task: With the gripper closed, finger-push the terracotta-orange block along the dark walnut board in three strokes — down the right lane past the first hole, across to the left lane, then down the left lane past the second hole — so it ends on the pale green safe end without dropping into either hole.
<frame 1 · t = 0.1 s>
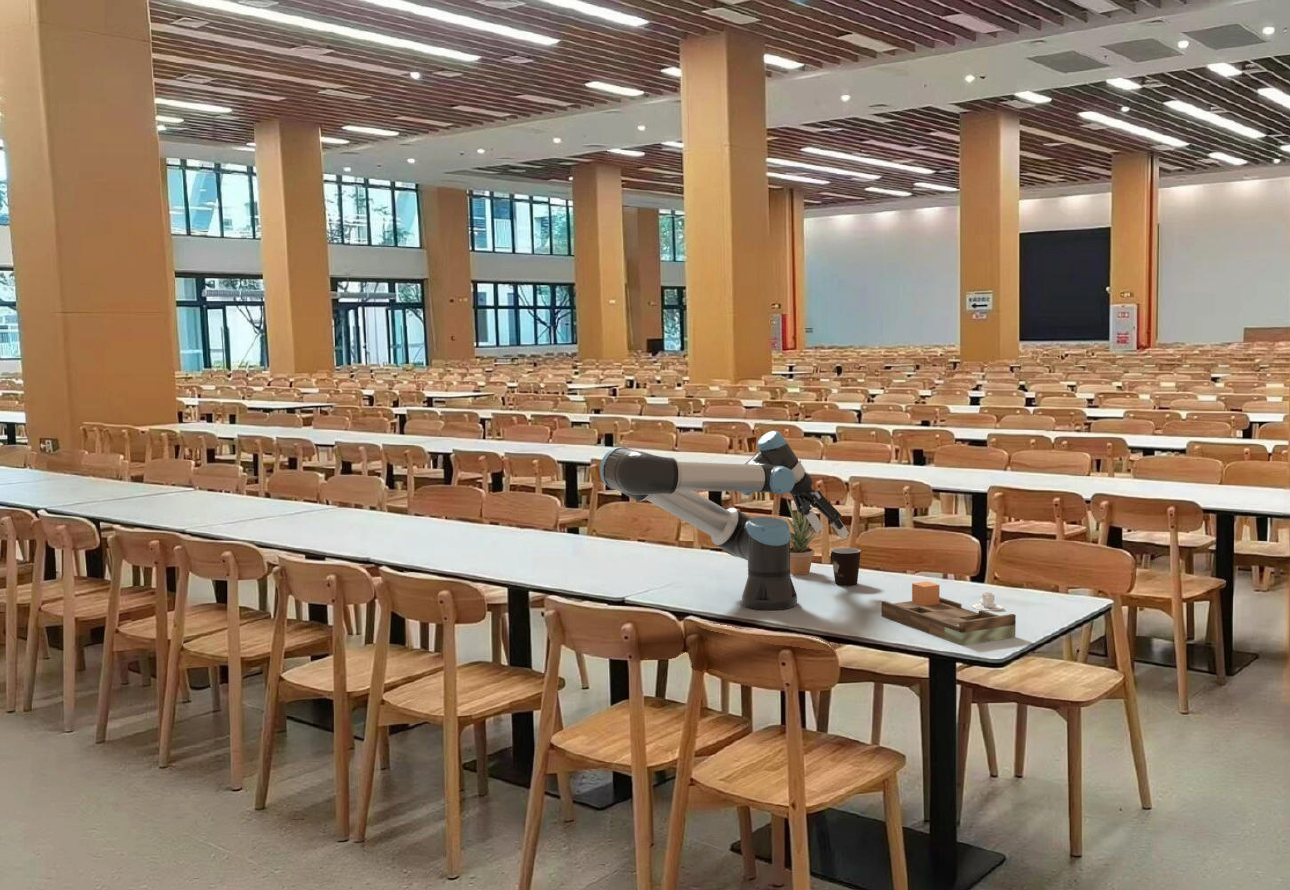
hand: (832, 532, 357), 15 cm above the table, tool tilted 35°, fingers open, 13 cm apart
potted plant: (799, 573, 376), on the table
teacup and saucer: (997, 608, 327), on the table
block: (925, 602, 319), point 3 cm above the table, touching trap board
coffee mug: (845, 583, 360), on the table
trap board: (944, 625, 307), on the table
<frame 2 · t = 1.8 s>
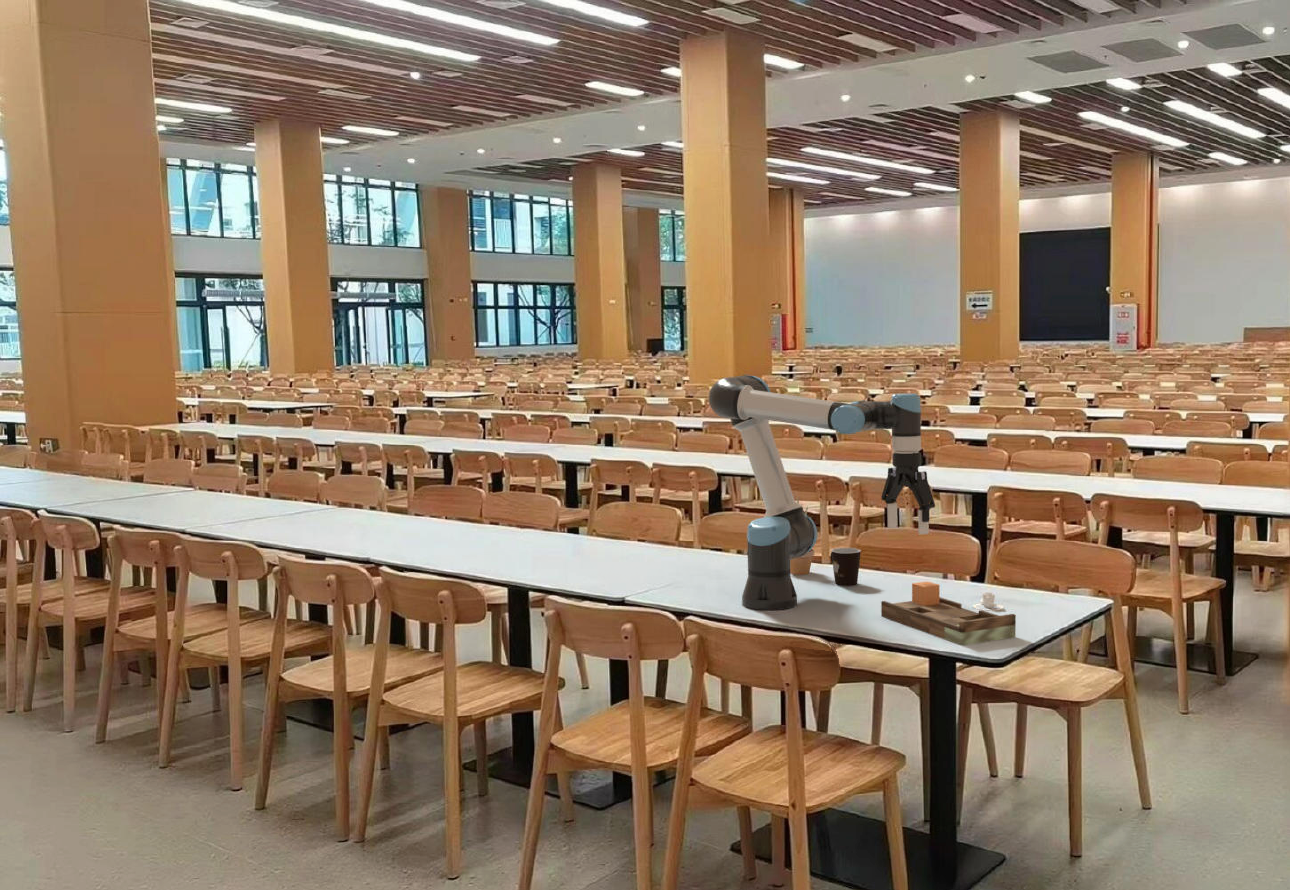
hand: (907, 530, 325), 21 cm above the table, tool pointing down, fingers open, 13 cm apart
nothing on the table moved.
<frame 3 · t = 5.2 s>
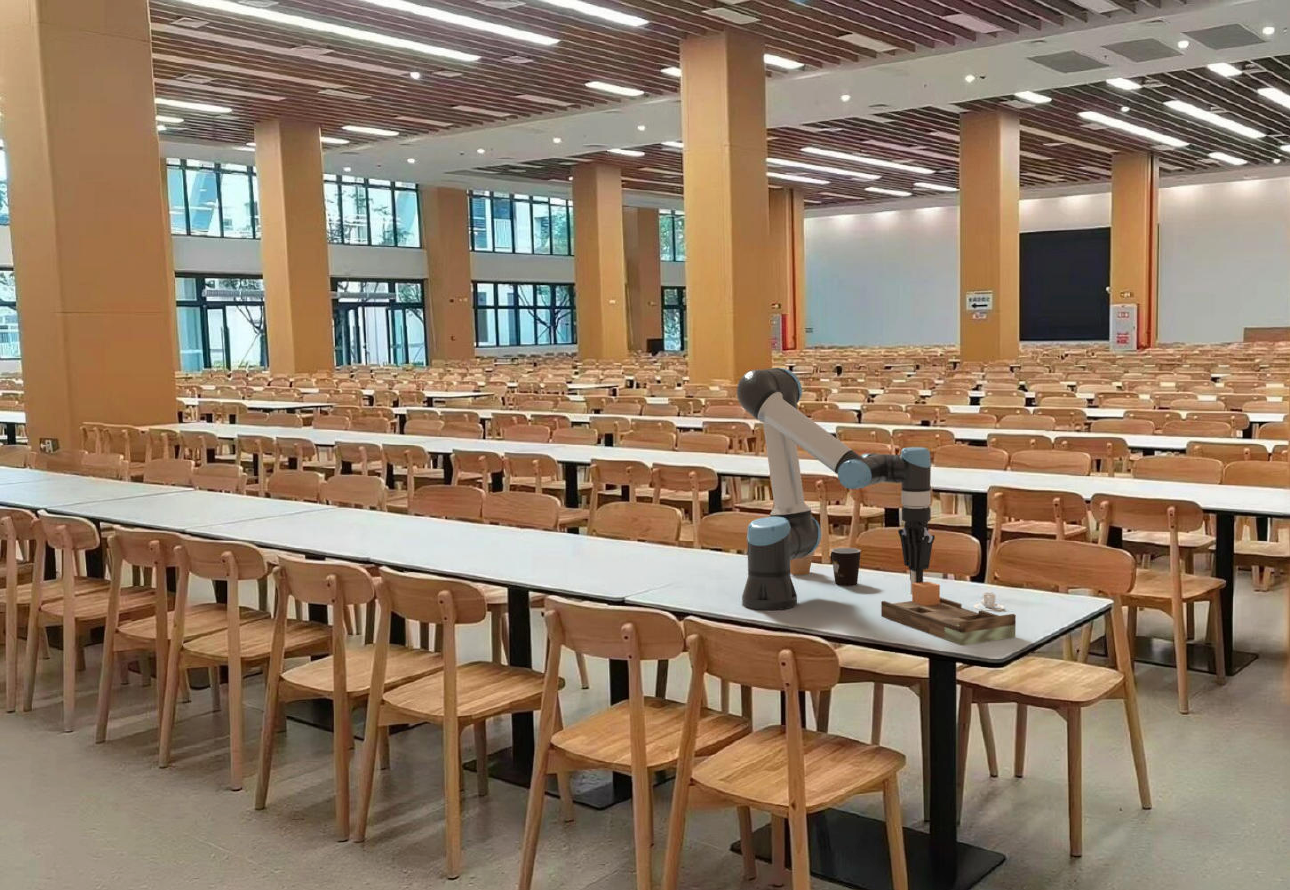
hand: (916, 594, 323), 5 cm above the table, tool pointing down, fingers closed
block: (925, 602, 319), point 3 cm above the table, touching gripper, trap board
everything else where it was.
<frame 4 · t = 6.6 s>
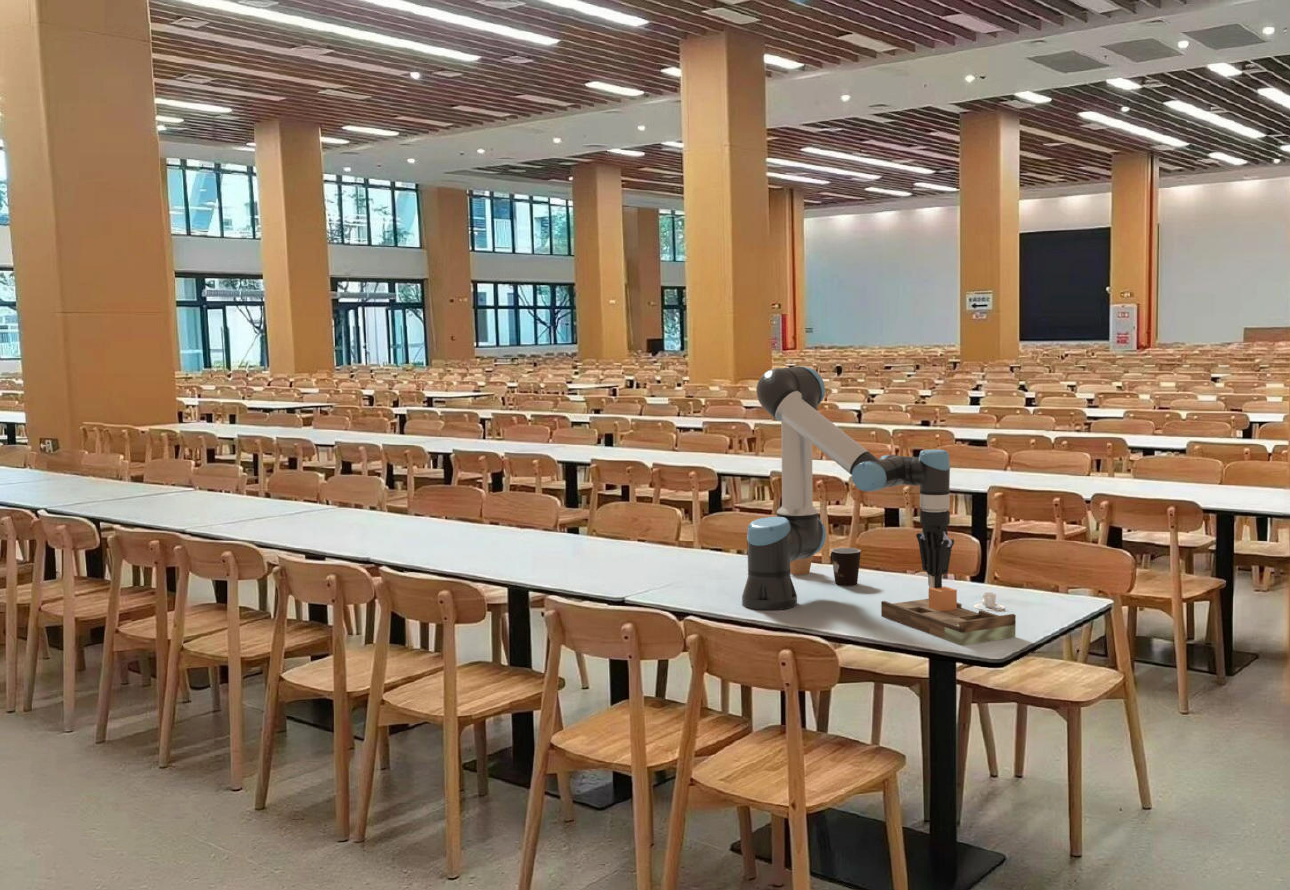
hand: (935, 599, 316), 5 cm above the table, tool pointing down, fingers closed
block: (942, 608, 313), point 3 cm above the table, touching gripper
everything else where it was.
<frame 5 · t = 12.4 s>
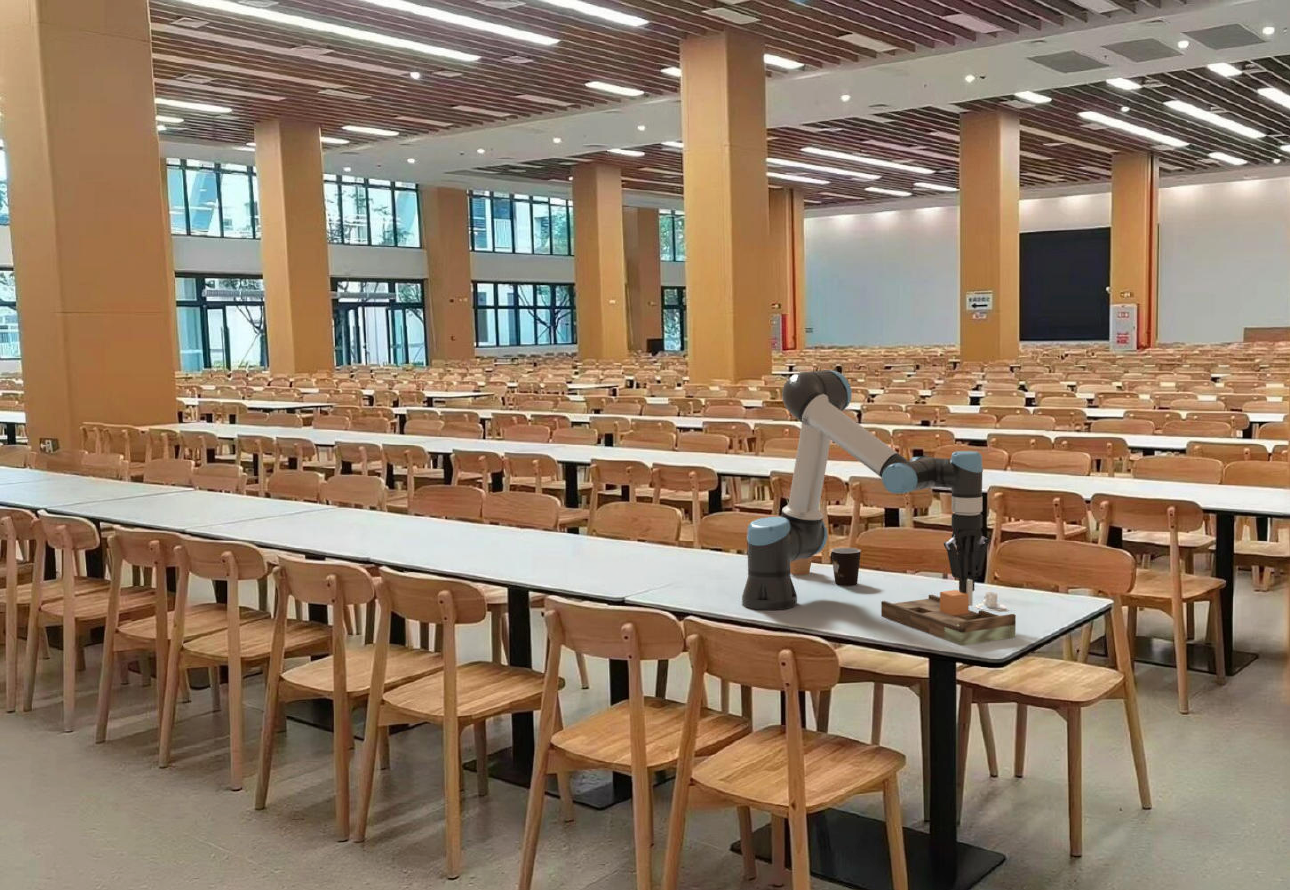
hand: (966, 604, 309), 5 cm above the table, tool pointing down, fingers closed
block: (954, 612, 308), point 3 cm above the table, touching gripper
everything else where it was.
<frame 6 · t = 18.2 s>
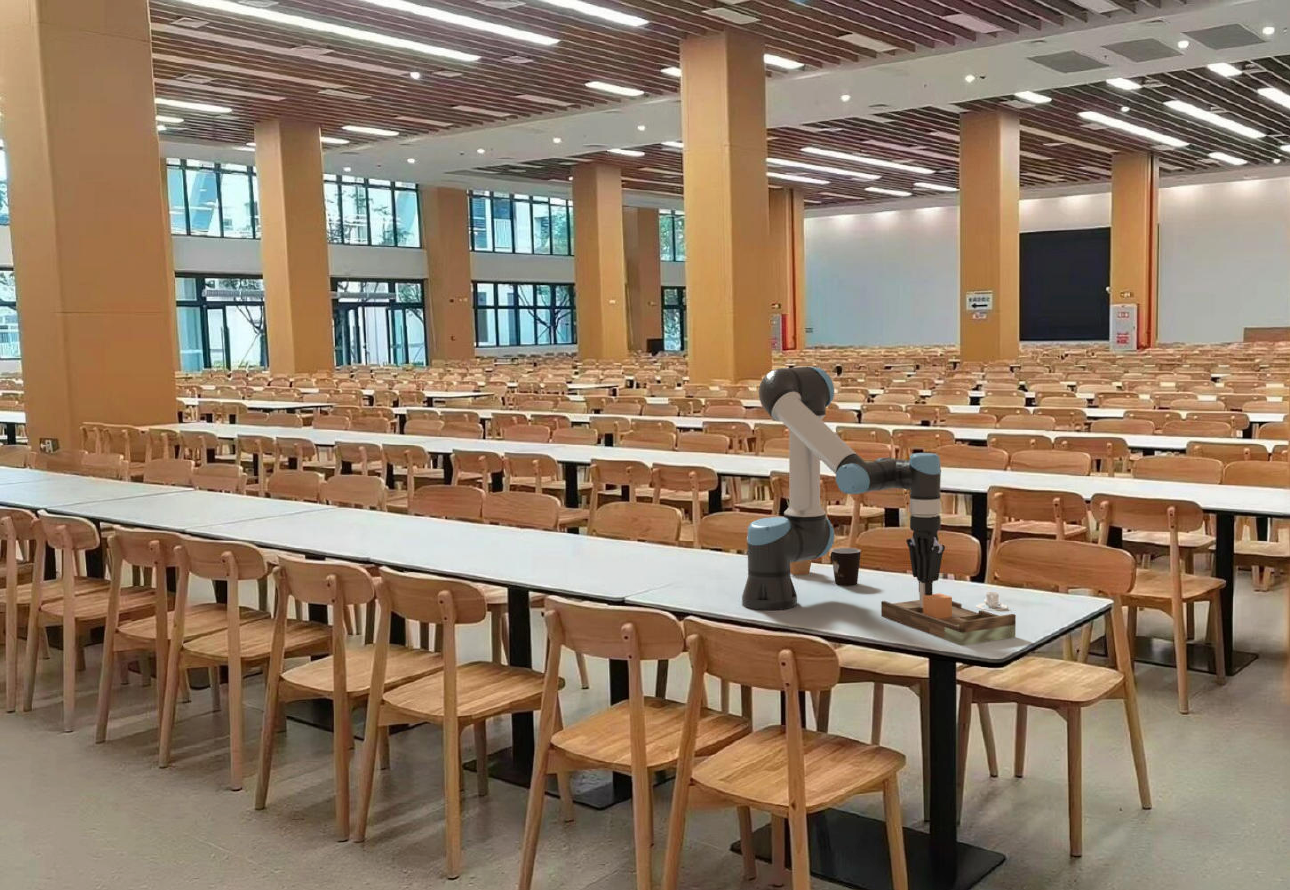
hand: (925, 606, 308), 5 cm above the table, tool pointing down, fingers closed
block: (937, 615, 305), point 3 cm above the table, touching gripper, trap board
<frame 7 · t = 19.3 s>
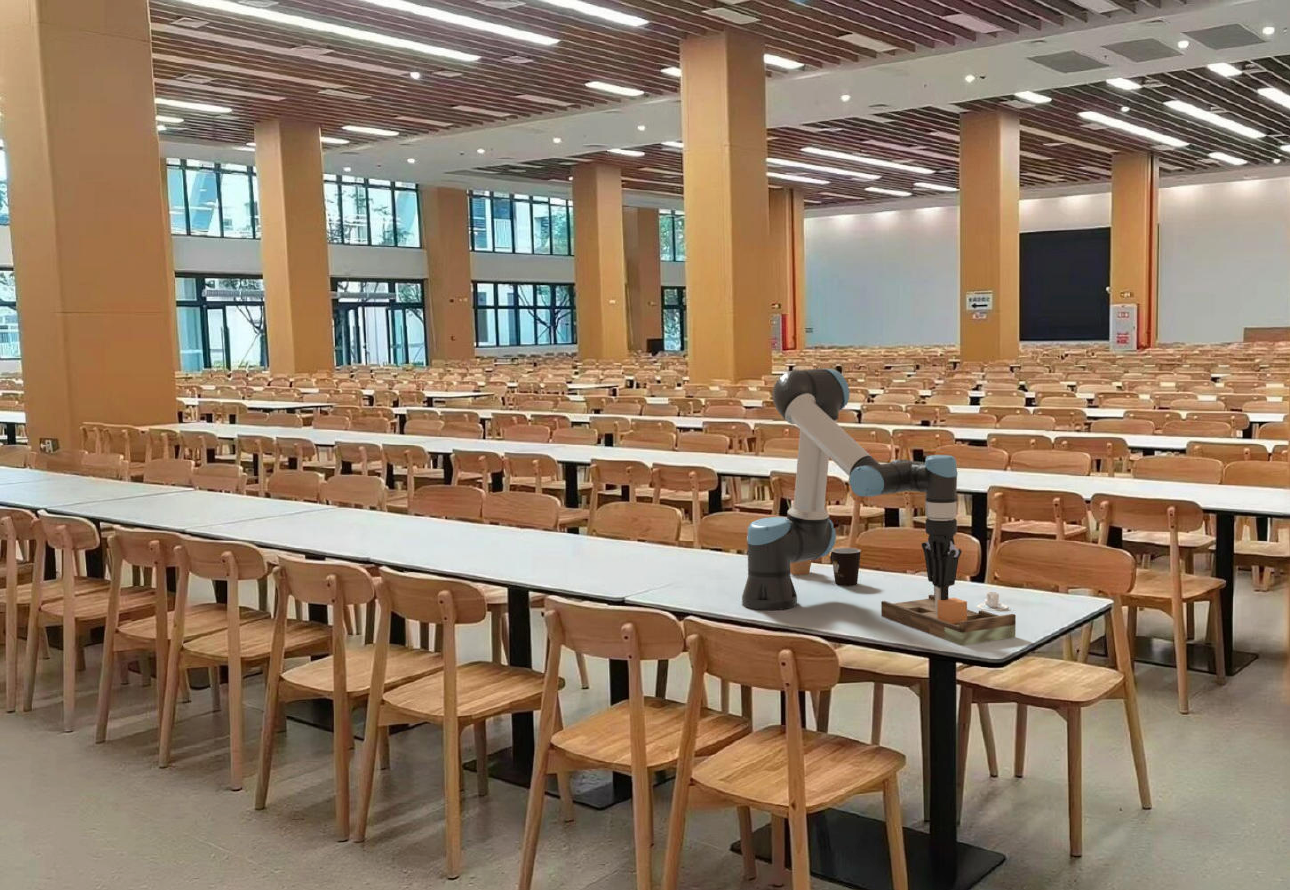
hand: (941, 611, 302), 5 cm above the table, tool pointing down, fingers closed
block: (952, 620, 300), point 3 cm above the table, touching gripper
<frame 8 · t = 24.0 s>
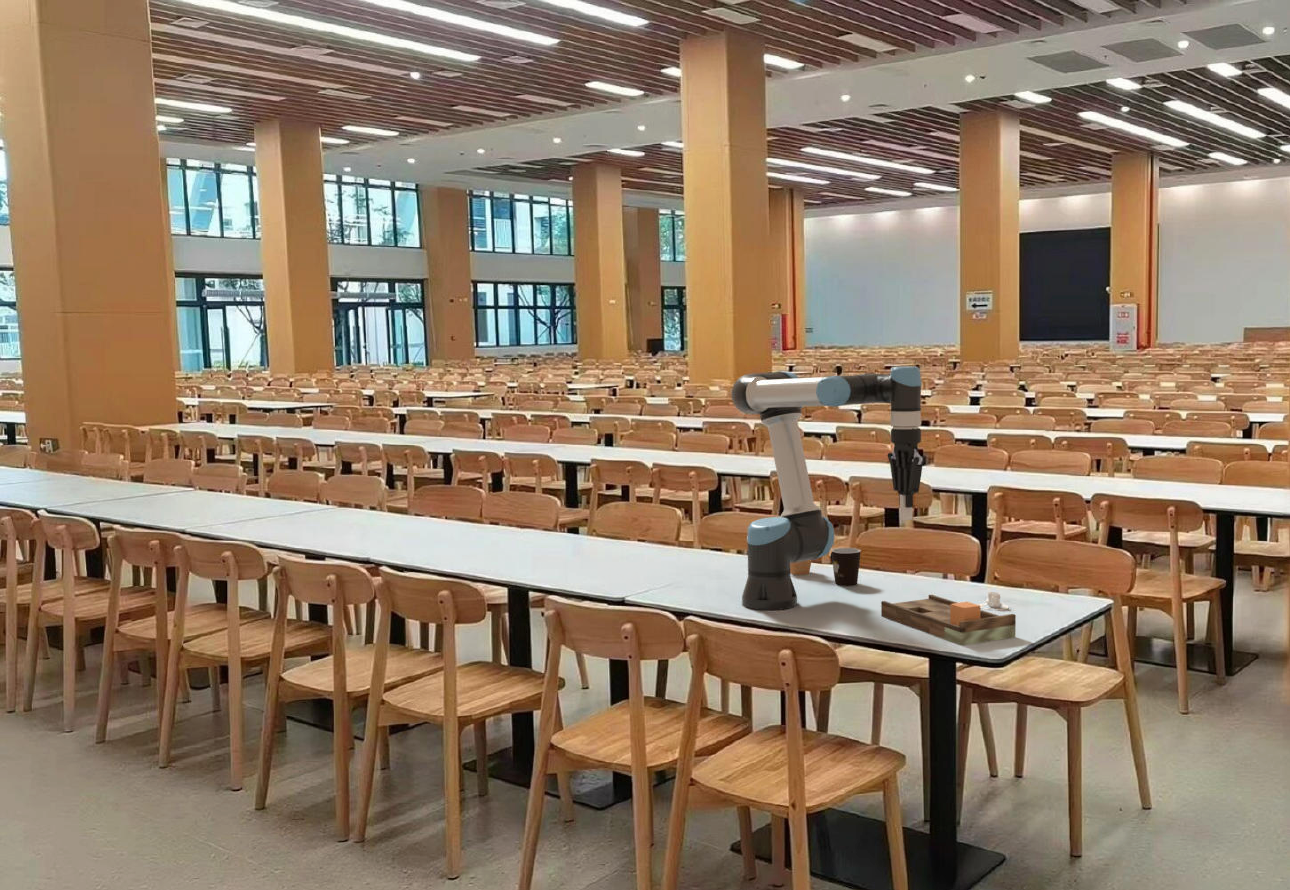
hand: (906, 519, 310), 26 cm above the table, tool pointing down, fingers closed
block: (965, 625, 295), point 3 cm above the table, touching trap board
at the end: block inside the target area (1.9 cm from its centre), point 3.0 cm above the table; block tilted 0° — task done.
